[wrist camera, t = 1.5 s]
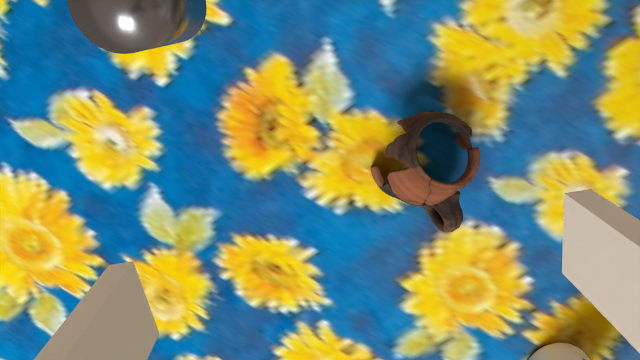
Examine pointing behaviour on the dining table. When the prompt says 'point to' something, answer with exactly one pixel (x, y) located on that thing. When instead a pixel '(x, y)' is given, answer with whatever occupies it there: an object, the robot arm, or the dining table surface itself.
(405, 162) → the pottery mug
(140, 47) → the shaft
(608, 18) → the dining table surface
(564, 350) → the milk bottle
